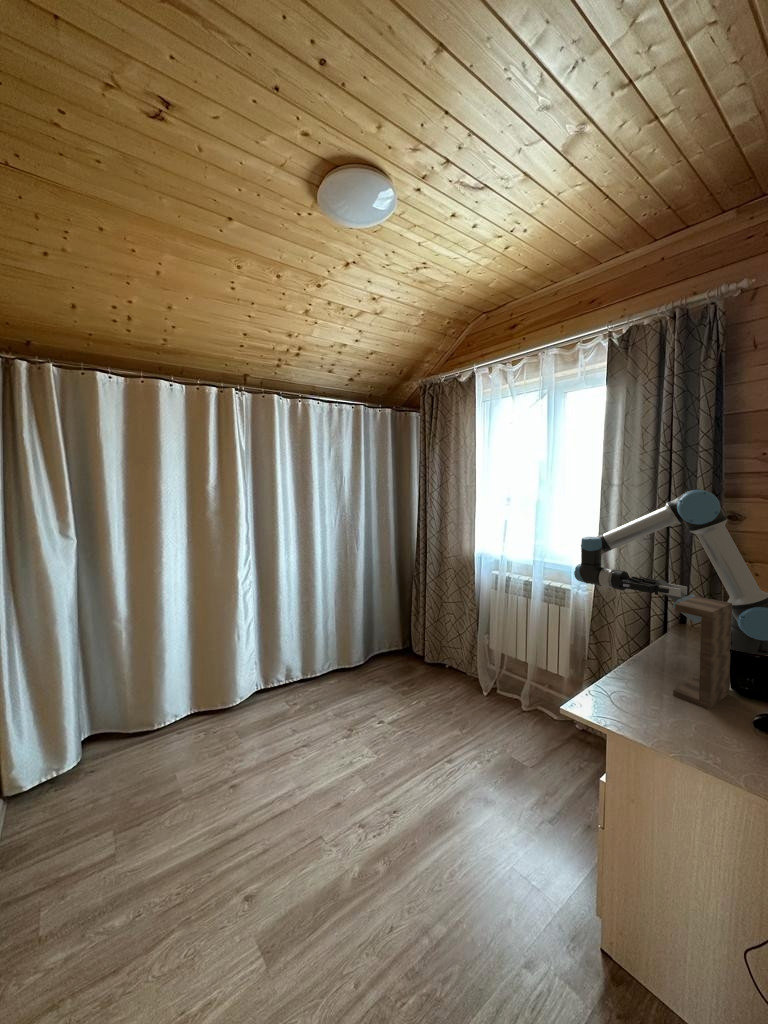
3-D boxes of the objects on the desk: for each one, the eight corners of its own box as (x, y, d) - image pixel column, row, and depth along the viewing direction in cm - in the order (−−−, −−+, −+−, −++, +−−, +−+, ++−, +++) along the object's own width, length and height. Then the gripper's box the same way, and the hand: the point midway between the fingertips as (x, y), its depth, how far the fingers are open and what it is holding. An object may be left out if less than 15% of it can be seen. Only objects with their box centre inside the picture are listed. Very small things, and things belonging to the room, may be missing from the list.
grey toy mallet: (663, 583, 149) (668, 577, 147) (711, 616, 137) (716, 609, 135) (647, 588, 142) (652, 582, 141) (695, 623, 131) (701, 617, 129)
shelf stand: (693, 681, 128) (695, 596, 126) (728, 694, 120) (732, 603, 118) (673, 695, 120) (675, 604, 118) (709, 709, 113) (712, 612, 111)
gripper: (626, 585, 163) (694, 598, 143) (602, 592, 154) (671, 607, 134) (626, 566, 162) (694, 577, 142) (602, 572, 153) (672, 585, 133)
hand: (683, 591), depth 138 cm, fingers closed on grey toy mallet, 4 cm apart
